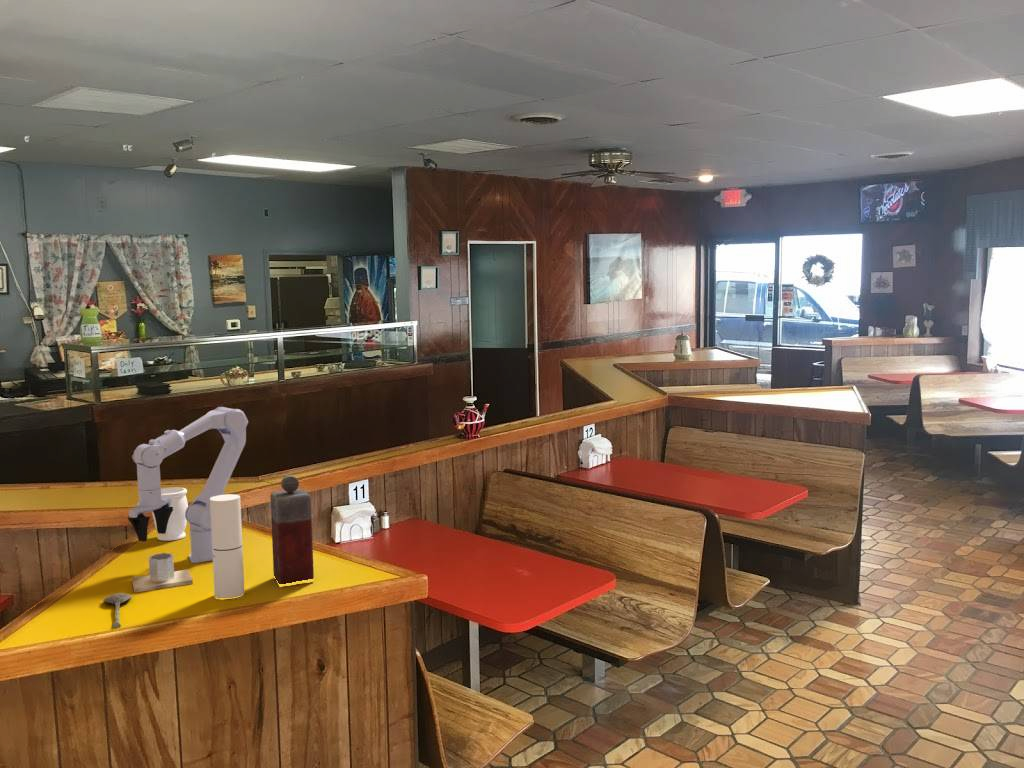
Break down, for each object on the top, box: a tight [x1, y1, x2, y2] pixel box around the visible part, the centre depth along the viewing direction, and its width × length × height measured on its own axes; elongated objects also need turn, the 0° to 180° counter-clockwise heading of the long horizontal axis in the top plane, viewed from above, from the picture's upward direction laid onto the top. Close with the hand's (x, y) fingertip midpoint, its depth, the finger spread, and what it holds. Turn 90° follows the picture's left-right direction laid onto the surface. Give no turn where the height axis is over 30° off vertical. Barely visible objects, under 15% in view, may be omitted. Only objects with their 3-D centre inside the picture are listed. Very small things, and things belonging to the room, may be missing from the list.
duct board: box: [131, 569, 194, 593], centre depth 227 cm, size 14×10×5 cm
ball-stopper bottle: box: [270, 474, 315, 584], centre depth 227 cm, size 9×11×28 cm
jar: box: [151, 486, 189, 542], centre depth 269 cm, size 11×10×15 cm
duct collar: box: [148, 552, 175, 583], centre depth 227 cm, size 6×6×6 cm
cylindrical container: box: [210, 493, 245, 598], centre depth 215 cm, size 7×7×25 cm
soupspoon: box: [102, 592, 133, 628], centre depth 206 cm, size 22×3×7 cm
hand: (152, 537), depth 236 cm, fingers open, 7 cm apart
